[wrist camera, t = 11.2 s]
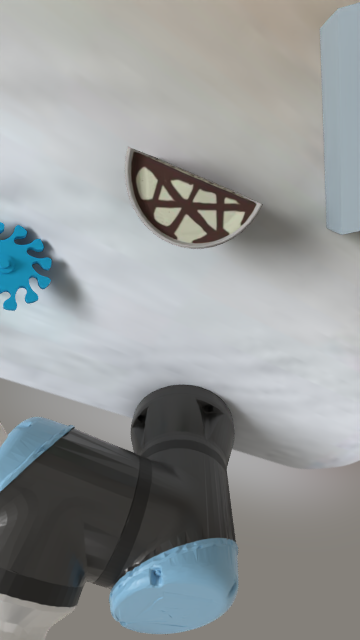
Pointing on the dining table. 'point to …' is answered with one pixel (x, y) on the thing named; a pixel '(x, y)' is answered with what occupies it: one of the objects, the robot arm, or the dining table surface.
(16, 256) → the gear
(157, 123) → the dining table surface
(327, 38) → the hole block
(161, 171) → the food container
